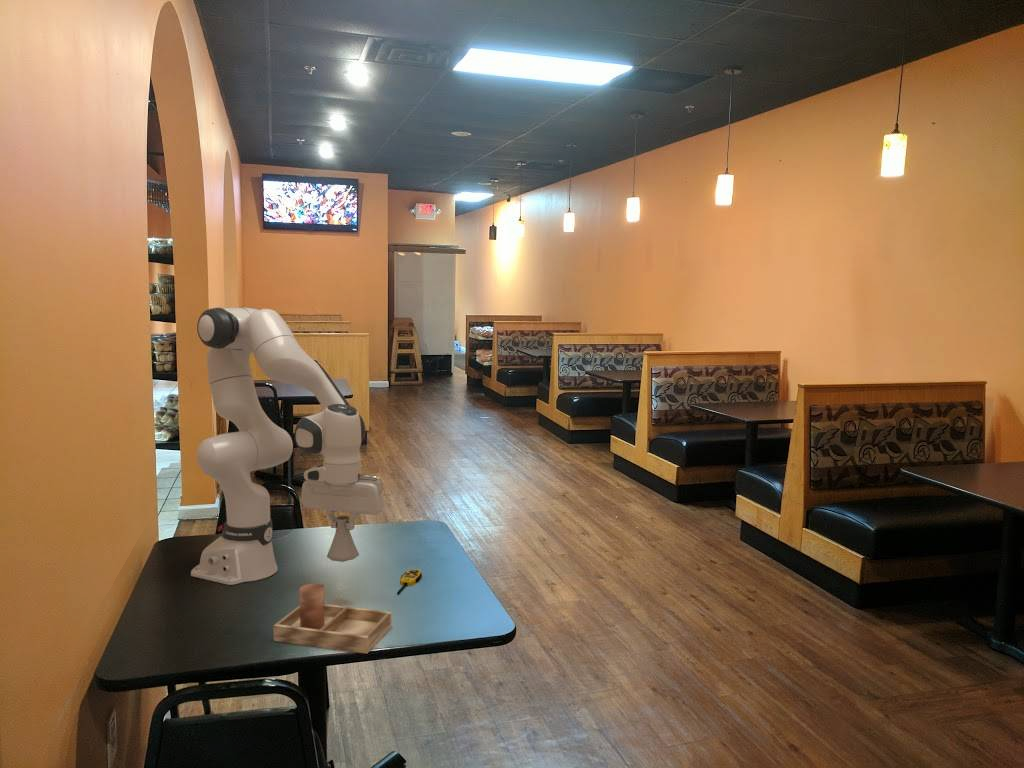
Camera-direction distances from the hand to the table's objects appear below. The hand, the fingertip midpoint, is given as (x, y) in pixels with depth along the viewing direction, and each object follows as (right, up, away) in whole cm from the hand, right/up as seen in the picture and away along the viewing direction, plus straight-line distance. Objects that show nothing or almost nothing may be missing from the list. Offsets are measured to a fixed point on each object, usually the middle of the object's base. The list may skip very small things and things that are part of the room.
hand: (342, 528), depth 174 cm
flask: (0, -7, +1) cm, 8 cm away
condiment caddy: (+1, -21, -14) cm, 25 cm away
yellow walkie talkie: (+14, -18, +15) cm, 27 cm away
